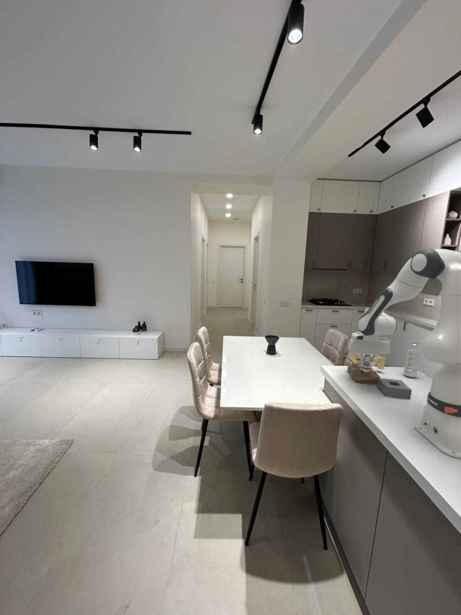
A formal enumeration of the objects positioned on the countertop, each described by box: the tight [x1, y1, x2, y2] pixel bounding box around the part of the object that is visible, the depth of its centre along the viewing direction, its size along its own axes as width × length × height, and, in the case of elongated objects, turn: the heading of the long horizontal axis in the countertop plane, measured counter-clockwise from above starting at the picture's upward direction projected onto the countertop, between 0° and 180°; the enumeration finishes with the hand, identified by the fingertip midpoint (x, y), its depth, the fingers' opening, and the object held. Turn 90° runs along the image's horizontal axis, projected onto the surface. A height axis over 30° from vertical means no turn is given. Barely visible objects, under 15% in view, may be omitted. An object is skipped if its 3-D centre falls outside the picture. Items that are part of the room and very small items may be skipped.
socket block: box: [347, 361, 381, 386], centre depth 147 cm, size 16×12×6 cm
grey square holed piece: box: [376, 377, 413, 400], centre depth 130 cm, size 11×11×5 cm
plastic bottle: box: [403, 342, 421, 378], centre depth 150 cm, size 6×7×20 cm
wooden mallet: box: [350, 355, 387, 370], centre depth 153 cm, size 12×19×7 cm, turn 80°
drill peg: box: [360, 353, 373, 374], centre depth 142 cm, size 5×5×12 cm
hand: (366, 360), depth 142 cm, fingers closed on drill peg, 3 cm apart
